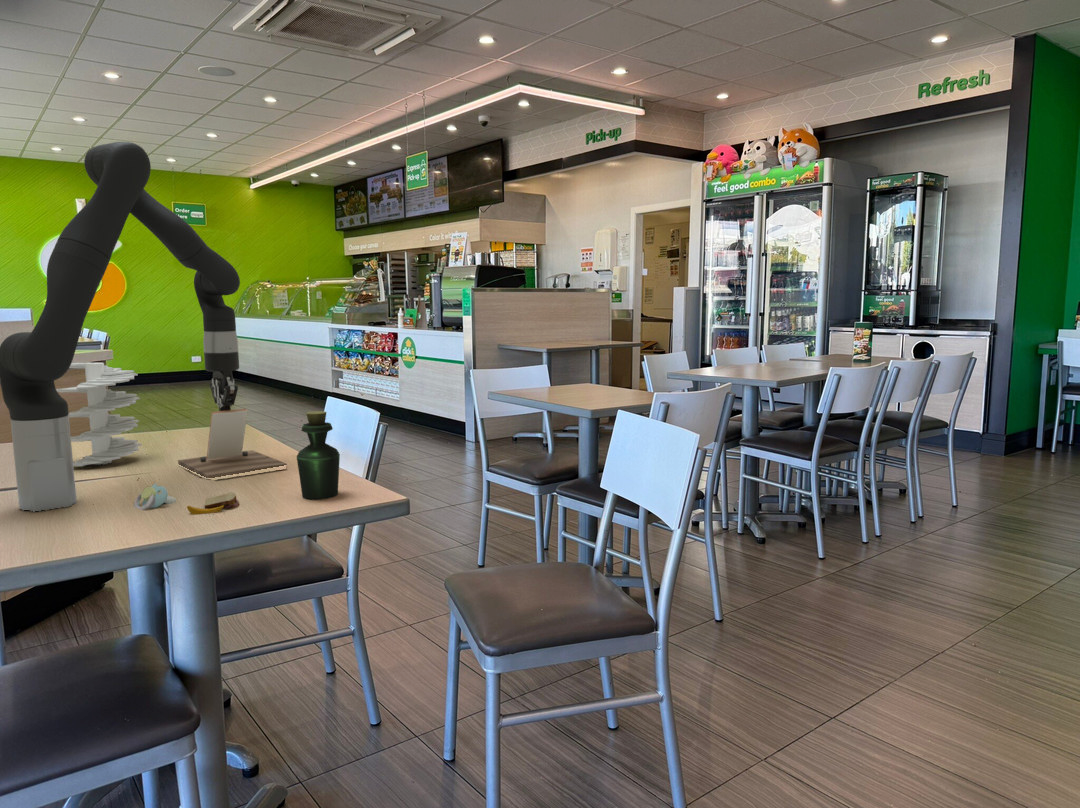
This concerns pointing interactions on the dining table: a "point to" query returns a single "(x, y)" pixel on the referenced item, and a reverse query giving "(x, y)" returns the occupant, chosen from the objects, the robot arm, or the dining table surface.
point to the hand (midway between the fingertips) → (225, 422)
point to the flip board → (230, 464)
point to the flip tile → (226, 433)
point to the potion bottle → (318, 460)
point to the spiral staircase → (104, 413)
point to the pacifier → (153, 497)
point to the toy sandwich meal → (216, 504)
